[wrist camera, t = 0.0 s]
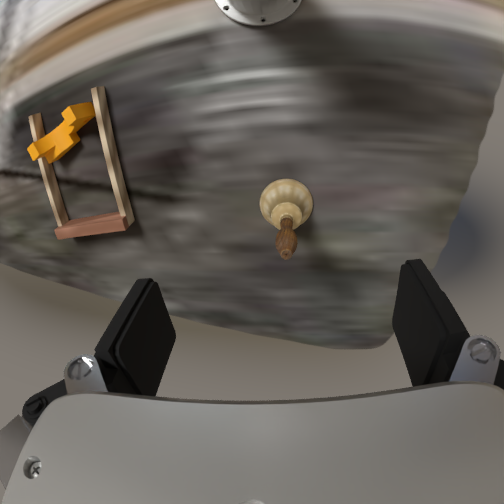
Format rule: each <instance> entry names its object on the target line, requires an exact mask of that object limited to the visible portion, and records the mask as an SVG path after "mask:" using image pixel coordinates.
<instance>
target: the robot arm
mask: <svg viewBox="0 0 504 504" xmlns="http://www.w3.org/2000/svg"><path fill="white" fill-rule="evenodd" d="M293 1H296V3H294V2H293ZM301 1H302V0H215V2H216V4H217V6H218V7H219V9H220V10H221V11H222V12H223V13H224V14H225V15H226V16H227V17H229V18H230V19H232V20H234V21H236V22H239V23H241V24H245V25H249V26H267V25H271V24H275V23H278V22H280V21H283V20H284V19H286V18H288V17H289V16H290V15H292V14H293V13H294V12H295V11H296V9H297V8H298V7H299V5H300V3H301ZM226 8H229V10H226ZM262 20H265V22H262ZM392 325H393V329H394V332H395V335H396V337H397V340H398V343H399V346H400V349H401V352H402V354H403V358H404V360H405V364H406V367H407V370H408V373H409V376H410V379H411V382H412V386H413V387H409V388H402V389H395V390H388V391H381V392H374V393H366V394H358V395H349V396H339V397H328V398H314V399H298V400H274V401H222V400H220V401H219V400H196V399H179V398H167V397H155V396H156V393H157V390H158V387H159V384H160V382H161V379H162V375H163V373H164V370H165V367H166V365H167V362H168V359H169V356H170V353H171V351H172V348H173V345H174V342H175V339H176V333H175V330H174V327H173V324H172V322H171V319H170V316H169V314H168V311H167V308H166V305H165V303H164V300H163V297H162V294H161V291H160V288H159V285H158V283H157V282H154V281H153V279H151V278H147V279H138V280H137V281H136V282H135V284H134V285H133V287H132V288H131V290H130V291H129V293H128V295H127V296H126V298H125V299H124V301H123V303H122V304H121V306H120V308H119V309H118V311H117V312H116V314H115V316H114V317H113V319H112V321H111V322H110V324H109V326H108V327H107V329H106V331H105V332H104V334H103V336H102V337H101V339H100V341H99V343H98V344H97V346H96V348H95V351H96V353H95V355H94V356H92V355H88V354H84V355H80V356H77V357H75V358H73V359H72V360H71V361H70V362H69V363H68V364H67V365H66V367H65V369H64V379H63V380H62V381H60V382H58V383H56V384H54V385H52V386H50V387H48V388H46V389H45V390H43V391H41V392H39V393H37V394H35V395H33V396H32V397H30V398H29V399H28V400H27V401H26V403H25V404H24V406H23V410H22V414H23V416H22V417H21V416H20V415H17V416H16V417H15V418H14V419H13V420H12V421H10V422H9V423H8V424H7V425H6V426H5V427H4V428H2V429H1V430H0V480H1V482H2V484H3V486H4V488H5V489H6V491H5V494H4V497H3V501H2V504H504V361H503V360H501V359H500V349H499V347H498V345H497V344H496V342H494V341H493V340H492V339H491V338H489V337H487V336H483V335H474V336H471V337H470V335H469V333H468V331H467V330H466V328H465V326H464V324H463V322H462V321H461V319H460V317H459V316H458V314H457V312H456V311H455V309H454V307H453V306H452V304H451V302H450V301H449V299H448V297H447V296H446V294H445V293H444V292H443V291H442V290H441V289H440V288H439V286H438V284H437V282H436V281H435V279H434V278H433V276H432V275H431V273H430V272H429V270H428V269H427V267H426V266H425V264H424V263H423V261H422V260H421V259H415V260H407V261H406V262H405V264H403V265H402V266H401V270H400V277H399V284H398V290H397V296H396V302H395V308H394V313H393V319H392Z"/></svg>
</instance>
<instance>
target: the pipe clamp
mask: <svg viewBox="0 0 504 504" xmlns="http://www.w3.org/2000/svg"><path fill="white" fill-rule="evenodd" d="M62 115H63V117H64V119H65V120H64V121H63V122H62V123H61V124H60V125H59V126H58V127H57V128H56V129H54V130H53V131H52V132H50V133H49V134H48V135H46V136H45V137H43V138H41V139H39V140H38V141H35V142H33V143H32V144H31V145H30V146H29V147H28V149H27V150H28V152H29V154H30V155H31V157H32V159H33V161H35V160H37V159H39V158H41V157H44V156H45V157H46V159H47V161H48V163H49V164H50V163H52V162H54V161H57V160H59V159H60V158H61V157H62V156H63V155H64V154H65V153H66V152H68V151H69V150H70V149H71V148H72V147H73V146H74V145H75V144H77V143H78V142H79V141H80V138H79V136H78V135H77V133H76V132H77V131H78V130H79V129H80V128H81V127H83V126H84V125H85V124H86V123H87V122H88V121H90V120H91V119H92V118H93V117H94V116H96V113H95V108H94V106H93V105H92V103H91V102H87V103H81V104H76V105H71V106H69V107H68V108H66V109H65V110H64V111H63V112H62Z"/></svg>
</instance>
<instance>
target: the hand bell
mask: <svg viewBox="0 0 504 504" xmlns="http://www.w3.org/2000/svg"><path fill="white" fill-rule="evenodd" d="M260 209H261V212H262V215H263V216H264V218H265V219H266V220H267V221H268V222H269V223H270V224H272V225H274V226H275V227H276V228H278V229H279V232H278V234H277V236H276V248H277V250H278V252H279V253H280V255H281V257H282V258H283V259H285V260H287V259H290V258H291V257H292V255H293V253H294V252H295V250H296V248H297V236H296V234H295V232H294V229H296V228H297V227H298V226H299V225H301V224H303V223H304V222H305V221H306V220H307V219H308V218H309V216H310V214H311V212H312V209H313V199H312V196H311V193H310V191H309V190H308V189H307V187H306V186H304V185H303V184H302V183H300V182H298V181H296V180H293V179H280V180H277V181H274V182H272V183H271V184H269V185H268V186H267V187H266V188H265V189H264V191H263V192H262V195H261V198H260Z"/></svg>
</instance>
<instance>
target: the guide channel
mask: <svg viewBox="0 0 504 504" xmlns="http://www.w3.org/2000/svg"><path fill="white" fill-rule="evenodd" d="M91 91H92V97H93V103H94V108H95V113H96V118H97V123H98V128H99V133H100V137H101V142H102V146H103V151H104V155H105V159H106V163H107V167H108V171H109V175H110V179H111V183H112V187H113V190H114V194H115V198H116V201H117V205H118V208H119V211H120V212H115V213H109V214H103V215H97V216H91V217H85V218H80V219H74V220H69V219H68V216H67V213H66V210H65V207H64V204H63V201H62V197H61V194H60V191H59V187H58V184H57V180H56V177H55V173H54V170H53V166H52V163H50V164H49V163H48V161H47V159H46V157H45V156H44V157H41V158H39V159H38V161H39V165H40V169H41V172H42V176H43V180H44V183H45V186H46V190H47V193H48V196H49V200H50V203H51V206H52V209H53V212H54V215H55V218H56V221H57V223H58V226H59V227H57V228H56V229H55V230H54V231H55V233H56V236H57V239H65V238H72V237H79V236H86V235H94V234H101V233H109V232H117V231H125V230H126V229H127V228H128V227H129V226H130V225H131V224H132V223H133V222H134V221H135V219H134V215H133V212H132V208H131V205H130V201H129V197H128V194H127V190H126V186H125V182H124V178H123V174H122V170H121V166H120V162H119V158H118V153H117V149H116V145H115V140H114V135H113V131H112V126H111V121H110V116H109V111H108V105H107V100H106V94H105V88H104V86H102V87H95V88H92V89H91ZM29 122H30V127H31V131H32V136H33V141H34V142H35V141H38V140H39V139H41V138H43V137H45V133H44V128H43V123H42V118H41V113H38V114H34V115H31V116H29Z"/></svg>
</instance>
